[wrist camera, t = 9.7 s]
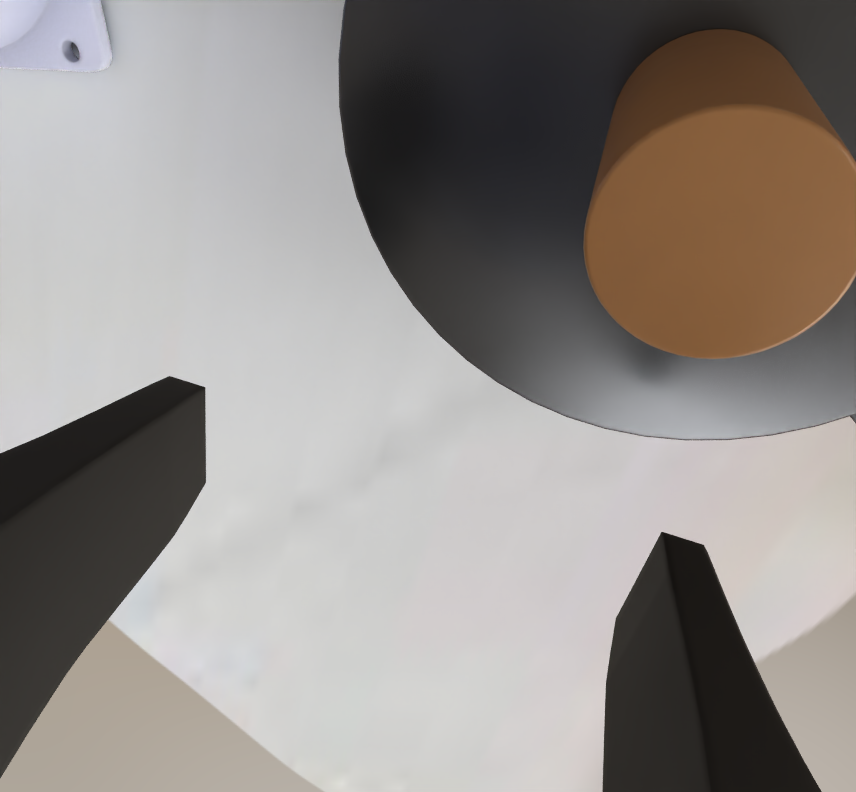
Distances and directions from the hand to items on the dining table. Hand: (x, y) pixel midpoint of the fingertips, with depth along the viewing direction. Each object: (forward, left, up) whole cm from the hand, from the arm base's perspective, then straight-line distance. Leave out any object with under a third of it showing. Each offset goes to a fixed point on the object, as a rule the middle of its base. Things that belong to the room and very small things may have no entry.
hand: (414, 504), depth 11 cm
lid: (+3, +5, -4) cm, 7 cm away
